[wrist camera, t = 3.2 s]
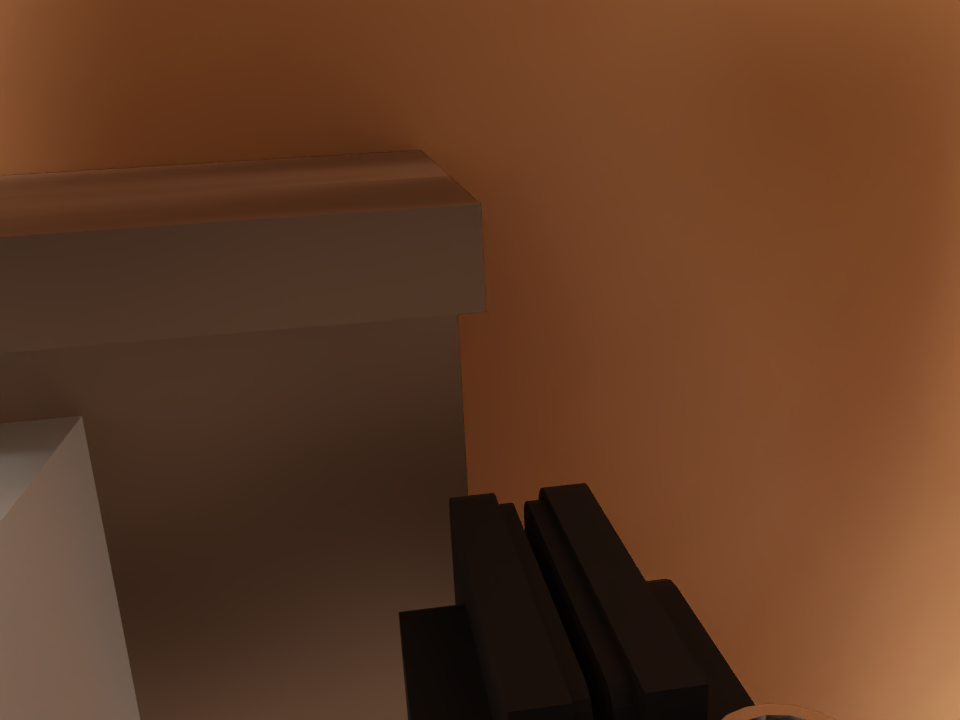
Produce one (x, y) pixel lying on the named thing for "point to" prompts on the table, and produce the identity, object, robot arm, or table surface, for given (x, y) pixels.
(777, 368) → the table surface
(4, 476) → the block
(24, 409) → the box
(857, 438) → the table surface
